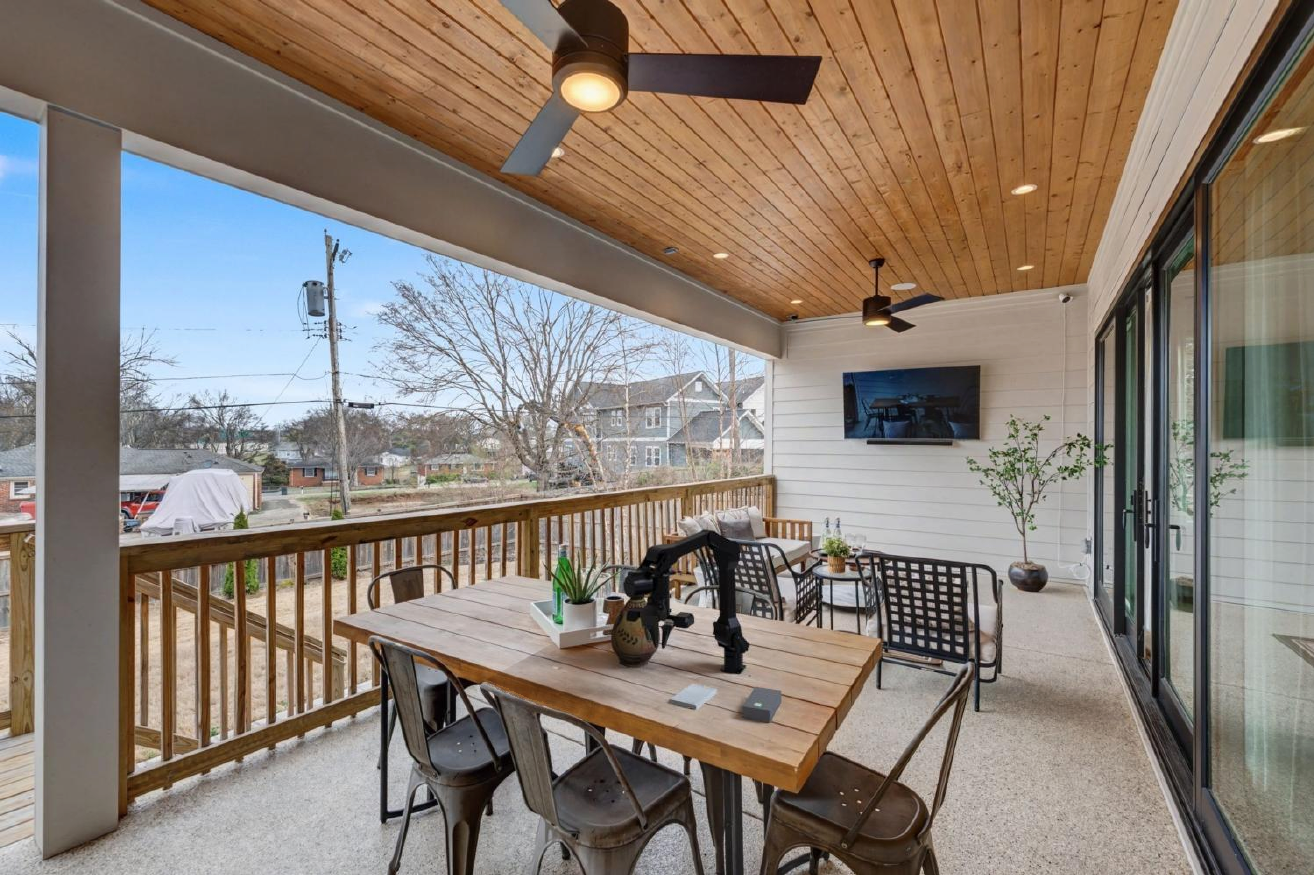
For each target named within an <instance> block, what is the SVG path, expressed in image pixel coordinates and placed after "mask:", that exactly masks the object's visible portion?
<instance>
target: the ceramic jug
mask: <svg viewBox="0 0 1314 875" xmlns="http://www.w3.org/2000/svg"><path fill="white" fill-rule="evenodd" d="M638 568H639V566H638V567H637V568H636V570H635V571H639V570H638ZM646 604H647V600H646V599H645V595H642V596H636V597H629V599H628V600H627V602H626V603H625V604H624V606H623V607H622V608H621V610H620V612H619V613H618V615H617V617H616V619H615V620H614V624H613V625H612V630H611V634H610V642H611V646H612V650H613V651H614V653H615V655H616V656H617V658H618V660H619V661H618V663H619V664H620V665H623V667H625V666H626V667H625V668H642V667H641V666H643V667H645V666H647V665H648V664H649V662H650V660H651V659H652V657H653V656H654V654H655V653H656V652H657V651H658V648H659V645H660V641H661V633H660V630H659V636H658V647H657V648H655V646H654V644H653V641H652V638H651V635H650V633H649V631H648V629H647V628H646V627H645V626H642V623H641V618H638V620H637V621H636V622H631V621H626V613H627V611H628V610H630V609H631V608H633V607H643V608H644V607H645V606H646ZM644 665H645V666H644Z"/></svg>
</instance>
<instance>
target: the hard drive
mask: <svg viewBox="0 0 1314 875" xmlns="http://www.w3.org/2000/svg"><path fill="white" fill-rule="evenodd" d="M717 693H718V689H717V688H713V687H709V686H704V685H700V684H696V683H690V684H689V685H687V686H686V687H685V688H683V689H682V690H680V691H679V692H678V693H676V694H675V695H674V696H672V697H670V698H669V700H668V702H670V703H669V704H672V703H674V704H673V705H676V704H677V705H676V706H680V707H684V708H688V707H690V708H689V709H691V708H694V709H693V710H695V709H697V710H698V709H699V708H701V707H702V706H703V705H704V704H705V703H707V702H708V701H709V700H710V699H712V698H713V697H714V696H715V695H716V694H717ZM706 701H707V702H706Z"/></svg>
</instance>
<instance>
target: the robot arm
mask: <svg viewBox="0 0 1314 875" xmlns="http://www.w3.org/2000/svg"><path fill="white" fill-rule="evenodd" d="M705 547H706V548H708V549H709V550H711V552H712V556H713V557H712V558H713V561H714V562H715V564H716V566H717V569H718V593H719V595H718V596H719V598H718V599H719V600H718V602H719V617H718V618H717V620H716V621H713V622H712V626H713V629H712V630H713V631H712V635H713V636H714V639H715V641H717V645H718V647H720V648H723V665H722V666H721V667H720V668H719V669H720V671H721V672H727V673H734V674H742V673H743V672H744V671H745V669H746V668H747V665H746V664H743V663H744V659H743V658H744V654H746V652H749V650H750V645H751V644H750V643H749V641H747V639H745V637H744V635H743V631H742V625H741V624H740V621H739V619H738V618H737V602H736V594H737V592H736V568H737V566H738V565H739V562H740V561H741V560H740V558H741V552H742V551H741V545H740V544H739V543H738V542H737V541H736V540H732V539H729V538H727V537H725V536H723V535H721V534H720V533H718V532H717V531H716V530H712V529H706V528H704V529H703V528H702V529H701V530H700V531H698V532H696V533H693V534H691V535H688V536H686V537H684V538H681V539H679V540H677V541H674V542H670V543H660V544H655V545H651V546H649V547H648V548H647V551H646V553H645V556H644V558H642V559H643V560H642V562H641V563H640V565H639V566H638V567H639V568H638V567H637V568H638V570H639V571H636V570H635V571H633V570H631V571H630V570H629V571H628V572H627V575H626V577H625V578H624V581H623V590H624V594H625V595H626V596H627V597H628V598H630V597H636V596H642V595H644V596H646V595H647V599H646V602H647V604H646V606H645V607H644V608H643V607H633V608H631V609H630V610H628V611H627V613H626V621H631V622H636V621H637V620H638V618H641V623H642V626H645V627H646V628H647V629H648V631H649V633H650V635H651V638H652V641H653V644H654V646H655V648H657V647H658V648H659V646H658V636H659V631H660V628H661V648H662V650H664V649H665V648H666V645H667V643H668V640H669V638H670V636H671V633H672V631H673V629H674V628H677V629H688V628H690V627H691V626H692V625H694V624H695V616H694V614H693V613H692V612H687V611H686V612H684V611H679V613H677V614H671V613H672V609H673V608H671V603H670V602H671V600H670V599H672V593H670V591H671V590H670V589H671V588H670V587H671V585H670V582H671V580H670V578H671V577H670V576H673V575H676V574H677V571H676V570H674V569H673V567H672V566H674V565H676V564H677V562H678V561H679V559H680V558H682V557H683V556H686V555H688V554H691V553H693V552H696V551H697V550H700V549H703V548H705ZM648 595H649V596H648ZM660 622H663V625H662V626H659V625H660V624H659V623H660ZM658 648H657V649H658Z"/></svg>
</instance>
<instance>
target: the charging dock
mask: <svg viewBox="0 0 1314 875" xmlns="http://www.w3.org/2000/svg"><path fill="white" fill-rule="evenodd" d="M781 704H782V690H779V689H772V688H766V687H759V686H755V687H754V688H753V690H752V691H751V693H750V694H749V695H748V696H747V698H746V699H745V700H743V702H742V706H741V708H742V709H741V710H742V719H746V720H752V721H758V722H762V723H767V724H771V722H772V720H773V719H774V716H775V715H776V713H777V711H778V709H779V708H780V705H781ZM778 707H779V708H778Z"/></svg>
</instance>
